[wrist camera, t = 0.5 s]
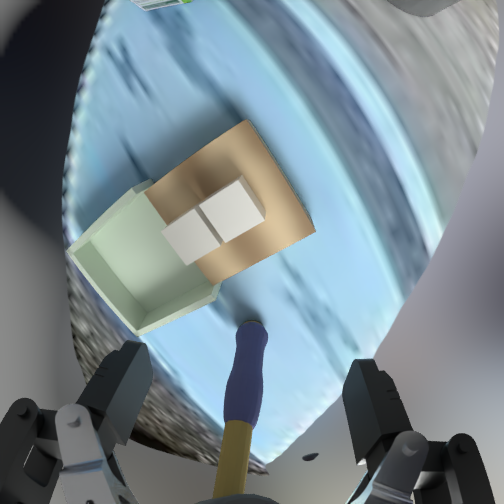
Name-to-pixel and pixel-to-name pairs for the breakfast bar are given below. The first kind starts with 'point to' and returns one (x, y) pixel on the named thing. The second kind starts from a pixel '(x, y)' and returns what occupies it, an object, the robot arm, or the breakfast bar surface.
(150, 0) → the syrup box
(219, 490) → the rubber mallet
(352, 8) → the breakfast bar surface
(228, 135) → the board
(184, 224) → the tile
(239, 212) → the tile
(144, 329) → the tray
